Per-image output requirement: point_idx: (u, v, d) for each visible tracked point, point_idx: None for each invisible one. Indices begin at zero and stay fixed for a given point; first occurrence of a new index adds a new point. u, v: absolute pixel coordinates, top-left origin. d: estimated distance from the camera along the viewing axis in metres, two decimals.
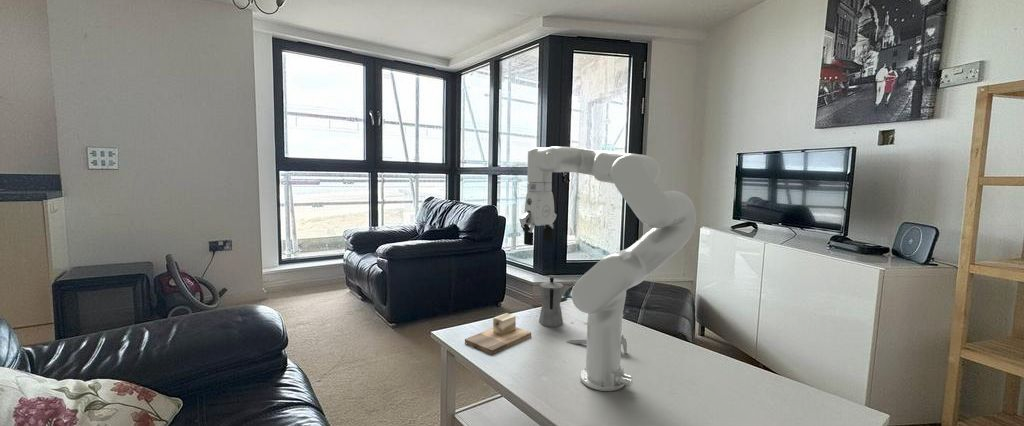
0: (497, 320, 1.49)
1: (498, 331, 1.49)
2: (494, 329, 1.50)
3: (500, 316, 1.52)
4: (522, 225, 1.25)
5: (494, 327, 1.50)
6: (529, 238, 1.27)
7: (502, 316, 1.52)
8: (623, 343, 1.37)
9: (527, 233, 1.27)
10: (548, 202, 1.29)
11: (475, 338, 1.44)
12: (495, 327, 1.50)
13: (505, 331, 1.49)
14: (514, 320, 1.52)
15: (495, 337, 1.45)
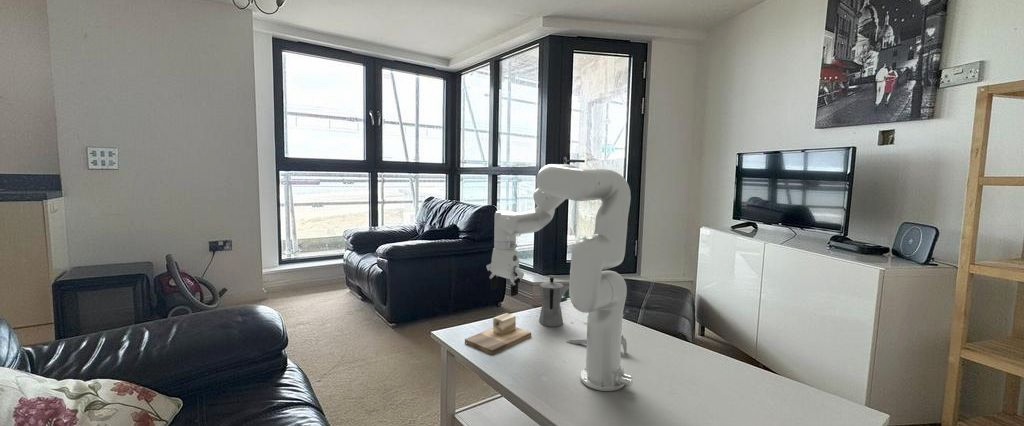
0: (497, 320, 1.49)
1: (498, 331, 1.49)
2: (494, 329, 1.50)
3: (500, 316, 1.52)
4: (520, 279, 1.45)
5: (494, 327, 1.50)
6: None
7: (502, 316, 1.52)
8: (623, 343, 1.37)
9: (517, 285, 1.46)
10: None
11: (475, 338, 1.44)
12: (495, 327, 1.50)
13: (505, 331, 1.49)
14: (514, 320, 1.52)
15: (495, 337, 1.45)
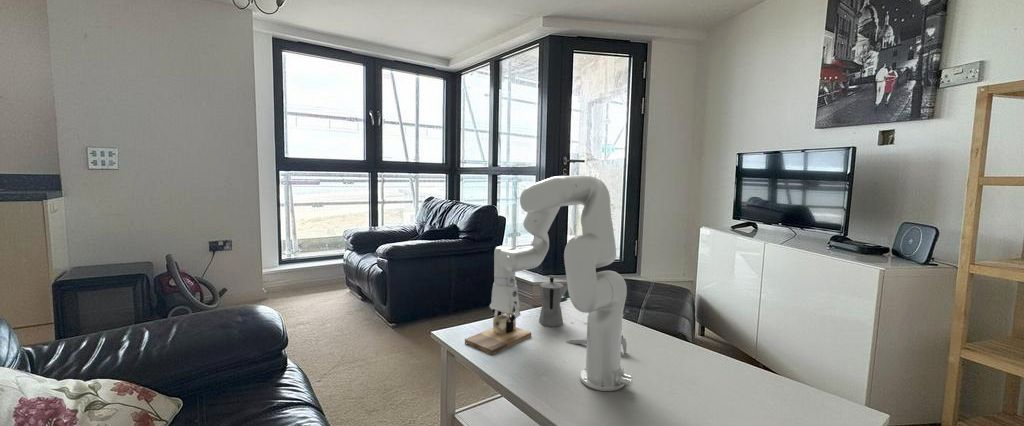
0: (497, 320, 1.49)
1: (498, 331, 1.49)
2: (494, 329, 1.50)
3: (500, 316, 1.52)
4: (515, 317, 1.48)
5: (494, 327, 1.50)
6: None
7: (502, 316, 1.52)
8: (623, 343, 1.37)
9: (512, 322, 1.49)
10: None
11: (475, 338, 1.44)
12: (495, 327, 1.50)
13: (505, 331, 1.49)
14: (514, 320, 1.52)
15: (495, 337, 1.45)
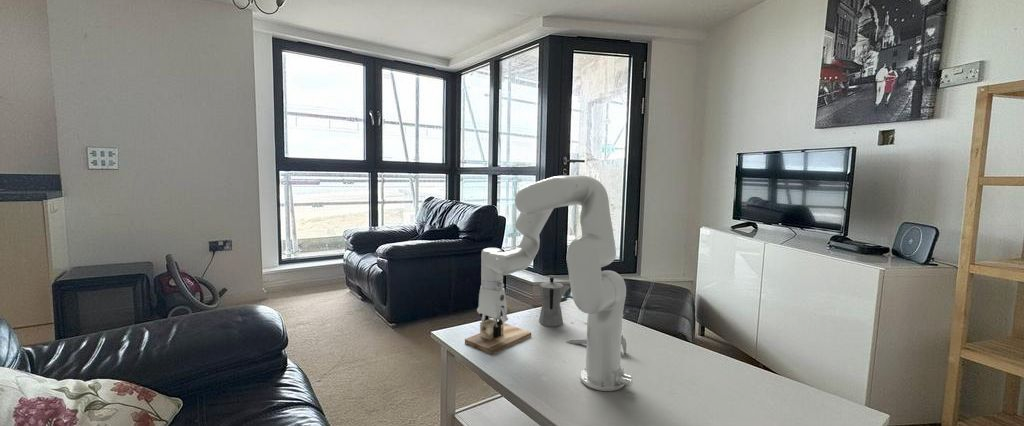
0: (484, 325, 1.44)
1: (485, 336, 1.44)
2: (481, 334, 1.46)
3: (488, 320, 1.47)
4: (503, 322, 1.43)
5: (481, 332, 1.46)
6: None
7: (489, 321, 1.47)
8: (623, 343, 1.37)
9: (499, 327, 1.45)
10: None
11: (475, 338, 1.44)
12: (482, 332, 1.45)
13: (492, 336, 1.44)
14: (502, 325, 1.48)
15: None
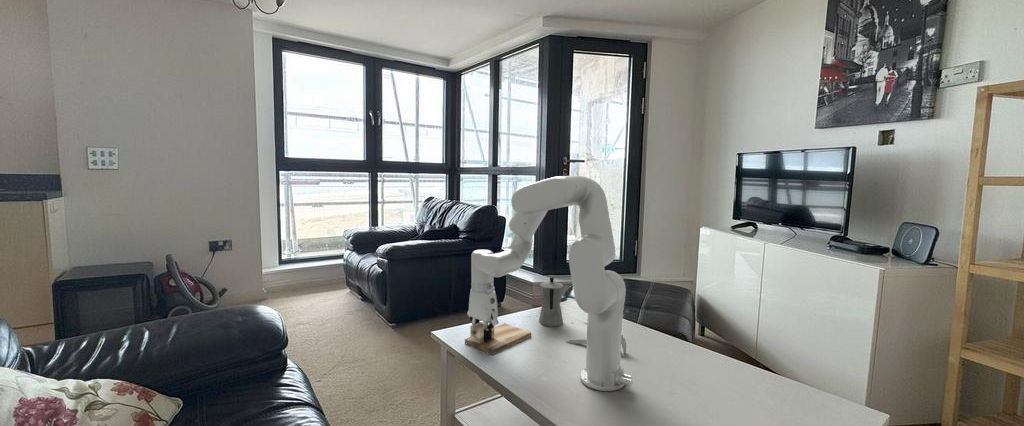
0: (474, 329, 1.41)
1: (475, 340, 1.41)
2: (471, 338, 1.42)
3: (478, 324, 1.44)
4: (493, 326, 1.40)
5: (471, 336, 1.42)
6: None
7: (480, 324, 1.44)
8: (622, 343, 1.37)
9: (490, 330, 1.41)
10: None
11: None
12: (472, 336, 1.42)
13: (483, 340, 1.41)
14: (493, 328, 1.44)
15: (495, 337, 1.45)
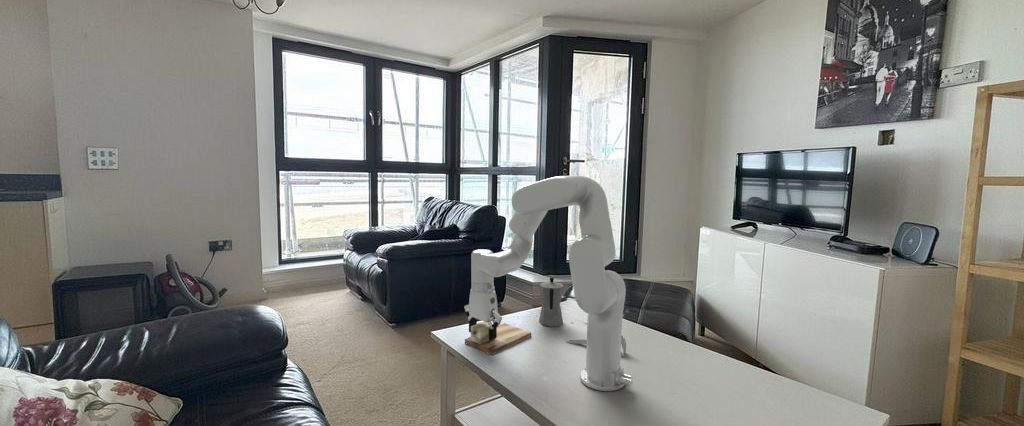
0: (475, 329, 1.41)
1: (476, 340, 1.41)
2: (472, 338, 1.42)
3: (479, 324, 1.44)
4: (498, 323, 1.38)
5: (472, 336, 1.42)
6: None
7: (480, 324, 1.44)
8: (622, 343, 1.37)
9: (495, 329, 1.40)
10: None
11: None
12: (473, 336, 1.42)
13: (483, 340, 1.41)
14: None
15: None
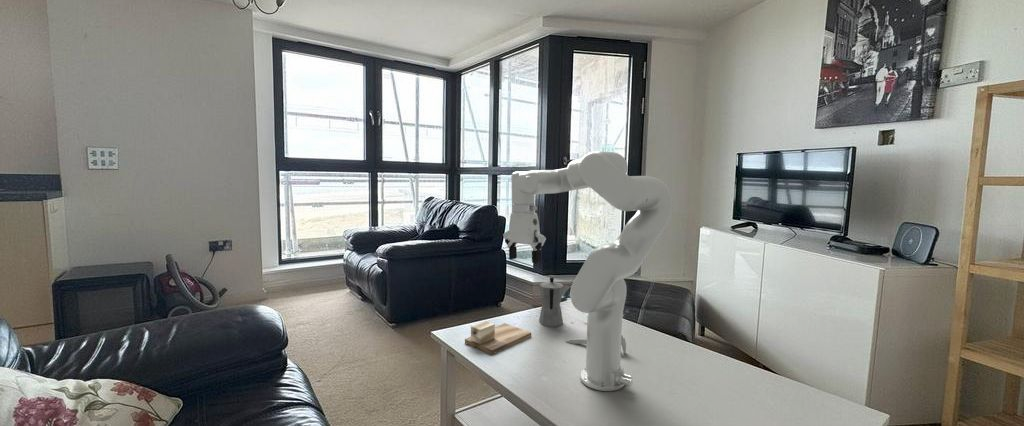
0: (475, 329, 1.41)
1: (476, 340, 1.41)
2: (472, 338, 1.42)
3: (479, 324, 1.44)
4: (542, 244, 1.34)
5: (472, 336, 1.42)
6: None
7: (480, 324, 1.44)
8: (622, 343, 1.37)
9: (538, 251, 1.35)
10: None
11: None
12: (473, 336, 1.42)
13: (483, 340, 1.41)
14: (493, 329, 1.44)
15: (495, 337, 1.45)
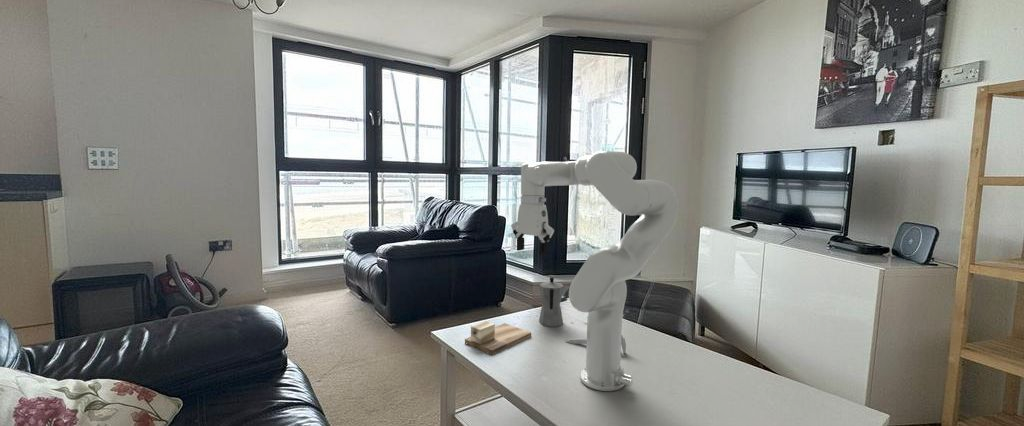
0: (475, 329, 1.41)
1: (476, 340, 1.41)
2: (472, 338, 1.42)
3: (479, 324, 1.44)
4: (550, 236, 1.33)
5: (472, 336, 1.42)
6: None
7: (480, 324, 1.44)
8: (622, 343, 1.37)
9: (546, 243, 1.35)
10: None
11: None
12: (473, 336, 1.42)
13: (483, 340, 1.41)
14: (493, 329, 1.44)
15: (495, 337, 1.45)
